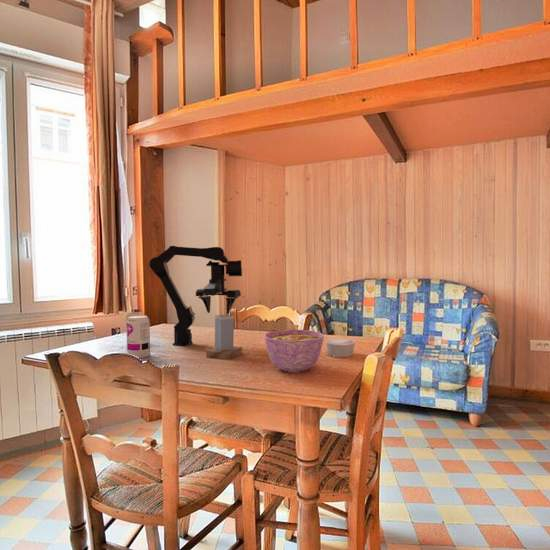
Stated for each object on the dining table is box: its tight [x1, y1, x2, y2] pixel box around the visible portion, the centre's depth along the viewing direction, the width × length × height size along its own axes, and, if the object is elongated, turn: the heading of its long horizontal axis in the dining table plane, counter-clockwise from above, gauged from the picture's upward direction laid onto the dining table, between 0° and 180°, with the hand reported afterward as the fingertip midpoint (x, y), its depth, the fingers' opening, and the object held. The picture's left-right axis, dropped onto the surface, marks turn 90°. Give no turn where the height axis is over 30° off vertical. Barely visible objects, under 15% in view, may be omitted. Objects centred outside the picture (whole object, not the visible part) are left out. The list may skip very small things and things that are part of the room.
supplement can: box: [126, 314, 151, 359], centre depth 169 cm, size 8×8×15 cm
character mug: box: [124, 311, 143, 329], centre depth 192 cm, size 11×7×13 cm, turn 44°
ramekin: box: [324, 338, 356, 358], centre depth 169 cm, size 11×11×5 cm
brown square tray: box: [205, 345, 243, 360], centre depth 170 cm, size 10×10×3 cm
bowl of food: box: [263, 329, 325, 373], centre depth 149 cm, size 20×20×12 cm
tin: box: [214, 313, 235, 351], centre depth 169 cm, size 5×5×12 cm
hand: (218, 313), depth 190 cm, fingers open, 9 cm apart
